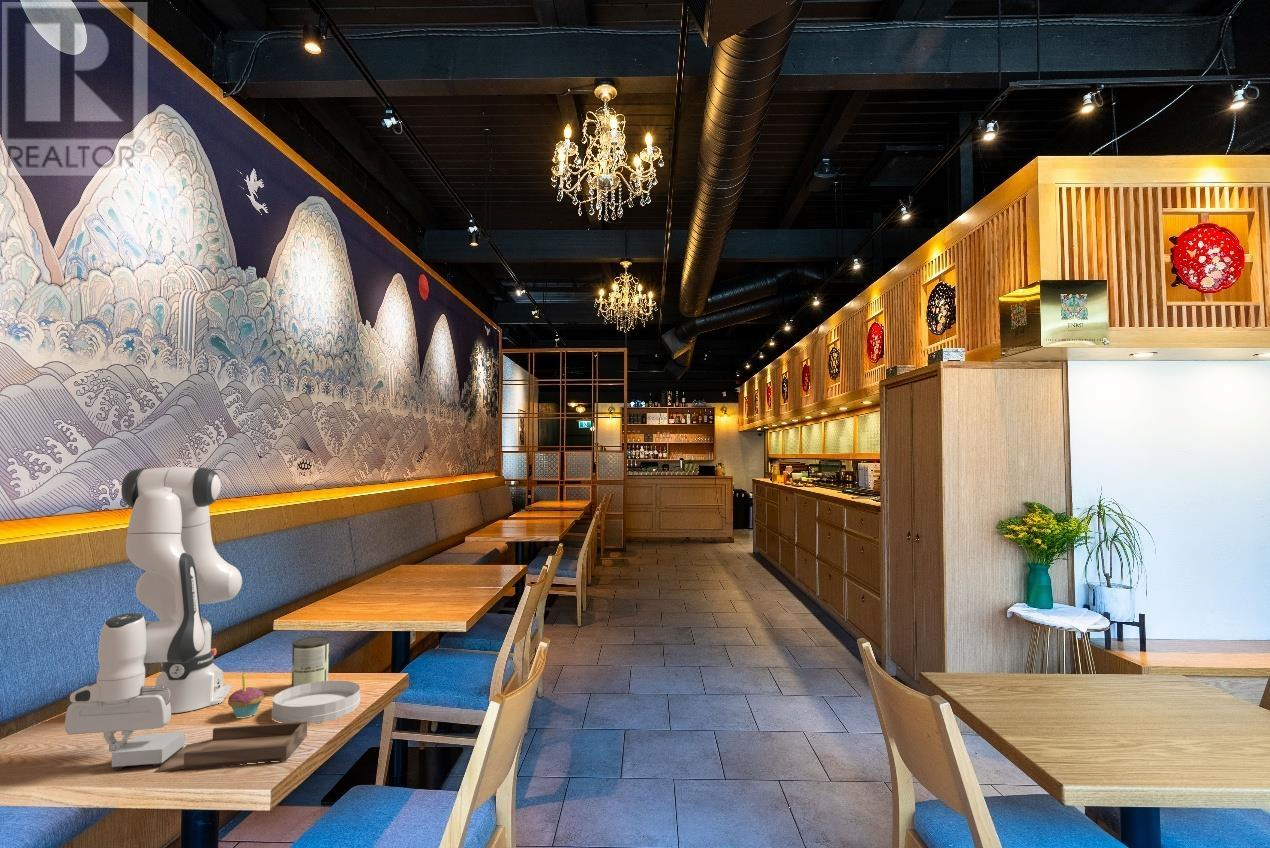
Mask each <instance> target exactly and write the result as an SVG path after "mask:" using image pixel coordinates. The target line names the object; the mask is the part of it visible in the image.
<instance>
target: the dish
mask: <svg viewBox="0 0 1270 848" xmlns="http://www.w3.org/2000/svg"><path fill="white" fill-rule="evenodd" d="M360 689H361V688H360V685H359V684H357V683H356V682H353V681H349V680H328V681H320V682H313V683H307V684H302V685H298V686H295V687H292V686H291V687H288V688H286V689H284V690H281V691H279V692H278V693H276V694H275V695H274V696H273V697H272V708H271V719H272V718H273V719H274V720H276V721H279V722H282V723H292V722H306V721H307V724H310V723H318V724H320V723H319V722H324V723H326V722H325V721H328V722H331V721H330V720H332V721H336V720H338V719H337V718H339V717H342V716H344V715H346V714H348V713H350V712H352V711H354V710H355V709H356V708H357V707H358V706H359V704H360V705H361V694H360V692H361V691H360ZM359 707H360V706H359ZM354 712H355V711H354ZM342 718H343V717H342ZM335 719H336V720H335ZM339 719H340V718H339Z"/></svg>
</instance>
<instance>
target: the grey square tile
mask: <svg viewBox="0 0 1270 848" xmlns="http://www.w3.org/2000/svg"><path fill="white" fill-rule="evenodd" d="M185 735H186V733H185V731H177V732H167V733H150V734H138V735H136V736H134V737H133V738H131V739H130V740H128V741H127V743H126V744H124V745H123V746H121V747H120V748H119V749H117V750H116V751H112V753H111V767H112V768H113V770H115V771H120V770H121V769H123V768H124V767H128V766H141V765H153V766H154V767H155V768H159V767H161V766H162V765H163V764H164V763H165V762H167V761H168V760H169V759H170V758H172V757H173V756H174V755H175V754H176V753H178V752H179V751H180V750H181V749H183V748H184V747H185V737H186V736H185Z"/></svg>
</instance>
